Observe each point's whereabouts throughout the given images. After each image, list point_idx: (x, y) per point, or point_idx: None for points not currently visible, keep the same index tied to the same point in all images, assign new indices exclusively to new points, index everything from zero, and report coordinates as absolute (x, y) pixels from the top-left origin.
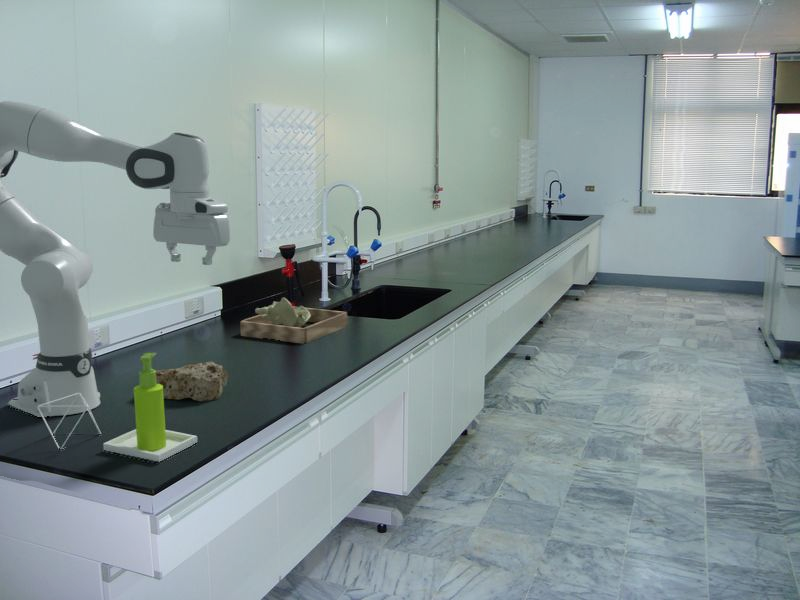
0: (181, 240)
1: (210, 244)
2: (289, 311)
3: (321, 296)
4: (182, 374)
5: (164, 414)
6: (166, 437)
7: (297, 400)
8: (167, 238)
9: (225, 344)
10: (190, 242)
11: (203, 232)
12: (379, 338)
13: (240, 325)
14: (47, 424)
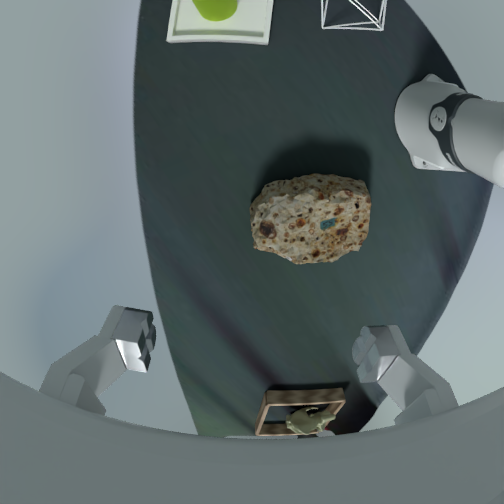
0: (332, 460)
1: (7, 385)
2: (298, 423)
3: None
4: (303, 193)
5: (193, 2)
6: (218, 34)
7: (146, 237)
8: (462, 429)
9: (347, 367)
10: (212, 451)
11: (30, 496)
12: (206, 410)
13: (344, 396)
14: (381, 6)
